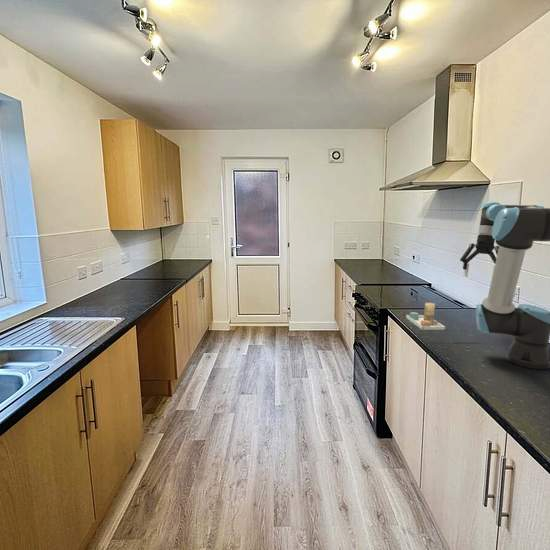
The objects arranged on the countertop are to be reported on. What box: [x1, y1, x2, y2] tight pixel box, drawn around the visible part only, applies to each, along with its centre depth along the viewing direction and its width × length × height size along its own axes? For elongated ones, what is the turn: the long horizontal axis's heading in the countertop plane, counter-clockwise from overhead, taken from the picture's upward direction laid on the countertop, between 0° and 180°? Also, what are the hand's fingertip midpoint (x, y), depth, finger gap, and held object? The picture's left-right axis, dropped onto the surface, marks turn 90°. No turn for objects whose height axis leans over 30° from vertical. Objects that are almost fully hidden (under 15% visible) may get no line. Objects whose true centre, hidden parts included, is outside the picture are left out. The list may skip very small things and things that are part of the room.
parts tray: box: [405, 314, 446, 331], centre depth 197 cm, size 21×12×2 cm, turn 3°
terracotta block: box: [421, 320, 431, 326], centre depth 189 cm, size 4×4×4 cm
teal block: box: [409, 311, 420, 320], centre depth 204 cm, size 4×4×4 cm
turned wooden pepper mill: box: [423, 301, 436, 325], centre depth 196 cm, size 5×5×11 cm
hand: (479, 277), depth 181 cm, fingers open, 13 cm apart
